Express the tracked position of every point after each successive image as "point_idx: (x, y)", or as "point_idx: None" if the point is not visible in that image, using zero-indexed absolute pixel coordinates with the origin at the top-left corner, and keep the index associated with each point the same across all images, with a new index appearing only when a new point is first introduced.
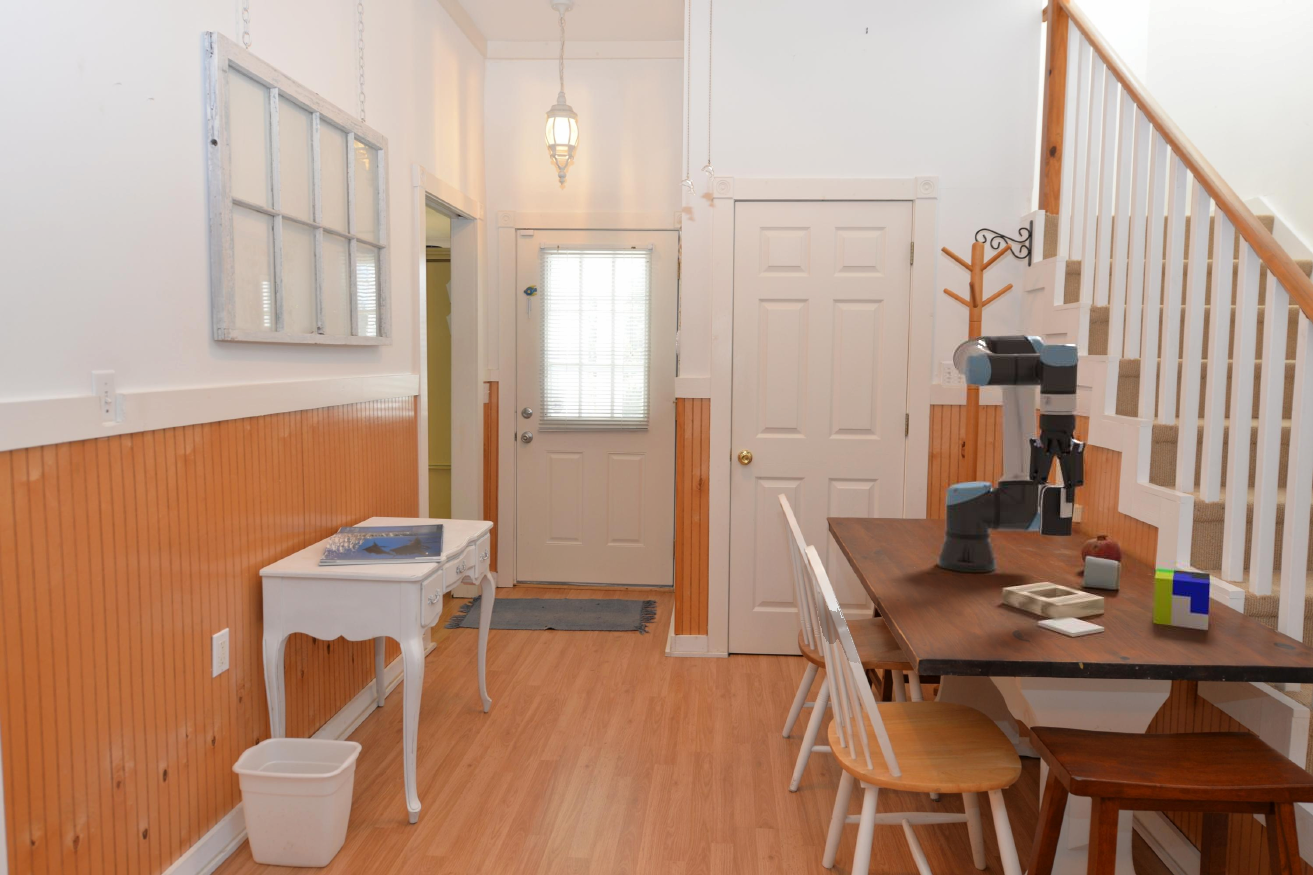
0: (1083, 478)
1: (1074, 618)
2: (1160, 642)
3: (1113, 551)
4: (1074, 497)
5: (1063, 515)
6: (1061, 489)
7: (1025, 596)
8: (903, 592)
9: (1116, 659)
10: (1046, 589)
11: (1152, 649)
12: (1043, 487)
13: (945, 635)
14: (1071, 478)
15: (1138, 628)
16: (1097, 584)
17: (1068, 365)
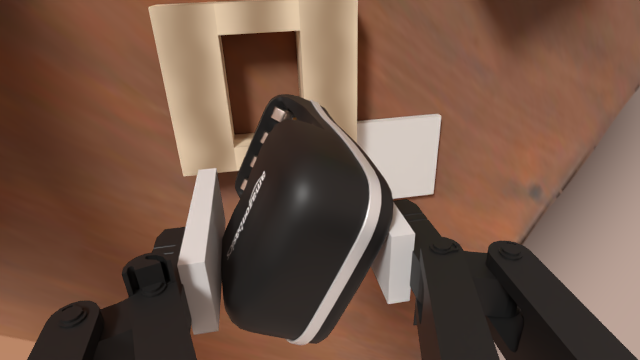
0: (556, 278)
1: (371, 124)
2: (533, 69)
3: None
4: (423, 215)
5: None
6: (388, 298)
7: None
8: (45, 301)
9: (531, 206)
10: (223, 74)
11: (542, 118)
12: (264, 334)
13: (332, 349)
14: (502, 348)
15: (462, 28)
16: None
17: None
